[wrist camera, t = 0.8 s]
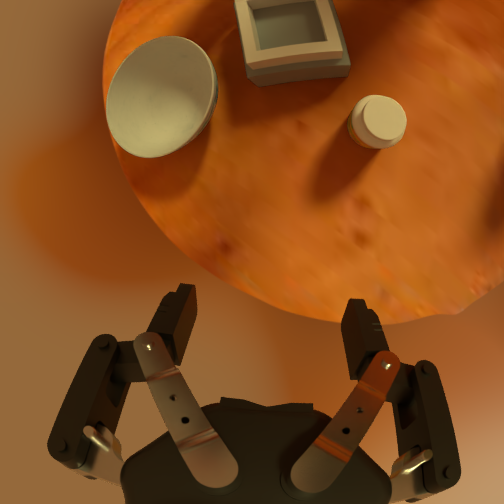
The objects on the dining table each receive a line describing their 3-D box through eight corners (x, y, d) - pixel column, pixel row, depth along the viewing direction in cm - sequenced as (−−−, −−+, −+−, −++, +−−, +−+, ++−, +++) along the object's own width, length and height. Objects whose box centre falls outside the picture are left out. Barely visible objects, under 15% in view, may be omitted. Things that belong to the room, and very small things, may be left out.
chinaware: (151, 166, 37) (116, 172, 30) (135, 76, 32) (100, 69, 25) (248, 139, 32) (226, 137, 25) (226, 38, 27) (201, 16, 20)
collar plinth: (245, 18, 26) (225, -7, 19) (328, 6, 22) (326, -24, 16) (258, 87, 29) (239, 72, 22) (347, 76, 26) (352, 57, 19)
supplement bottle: (340, 110, 28) (346, 94, 19) (381, 101, 26) (402, 84, 17) (354, 153, 29) (365, 154, 20) (395, 143, 27) (421, 142, 19)
